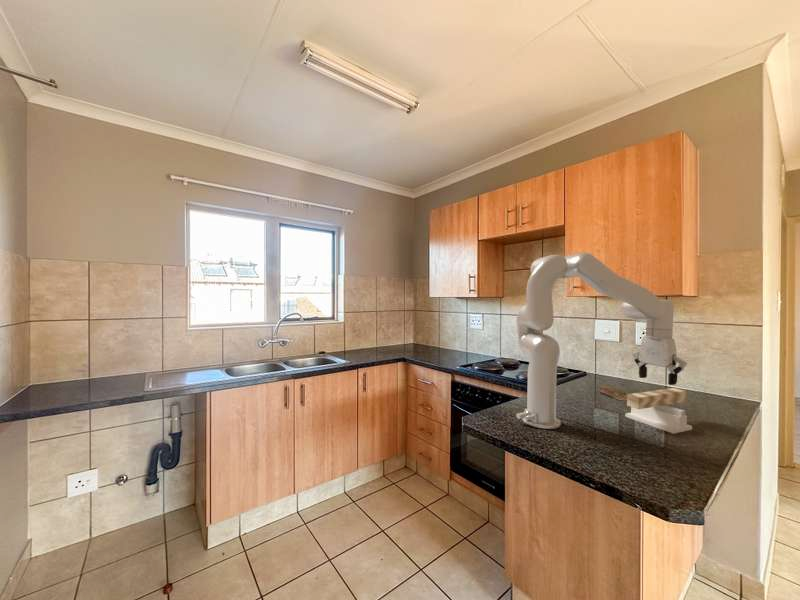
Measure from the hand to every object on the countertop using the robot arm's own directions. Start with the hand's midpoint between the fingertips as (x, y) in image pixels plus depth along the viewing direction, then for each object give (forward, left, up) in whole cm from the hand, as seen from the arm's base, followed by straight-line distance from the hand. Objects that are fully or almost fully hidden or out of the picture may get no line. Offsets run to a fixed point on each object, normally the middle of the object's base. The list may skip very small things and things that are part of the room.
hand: (657, 380), depth 118 cm
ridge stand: (0, 0, -15) cm, 15 cm away
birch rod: (0, 0, -8) cm, 8 cm away
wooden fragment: (+20, +32, -16) cm, 41 cm away
